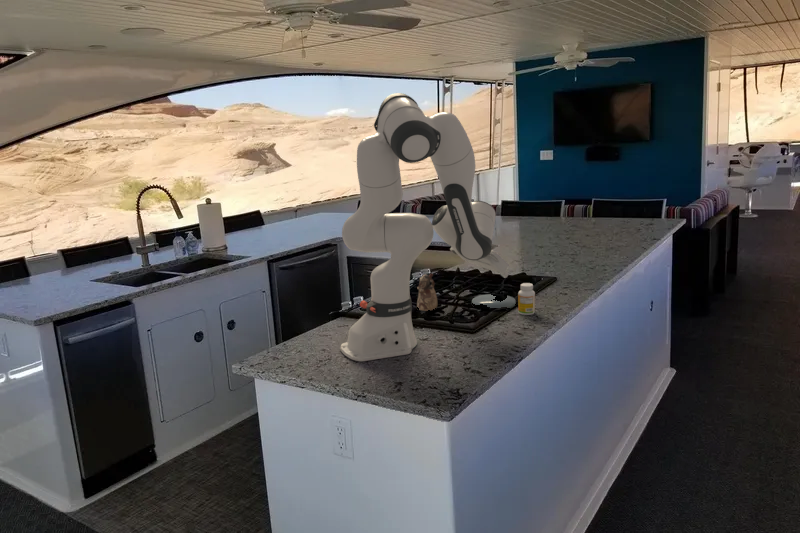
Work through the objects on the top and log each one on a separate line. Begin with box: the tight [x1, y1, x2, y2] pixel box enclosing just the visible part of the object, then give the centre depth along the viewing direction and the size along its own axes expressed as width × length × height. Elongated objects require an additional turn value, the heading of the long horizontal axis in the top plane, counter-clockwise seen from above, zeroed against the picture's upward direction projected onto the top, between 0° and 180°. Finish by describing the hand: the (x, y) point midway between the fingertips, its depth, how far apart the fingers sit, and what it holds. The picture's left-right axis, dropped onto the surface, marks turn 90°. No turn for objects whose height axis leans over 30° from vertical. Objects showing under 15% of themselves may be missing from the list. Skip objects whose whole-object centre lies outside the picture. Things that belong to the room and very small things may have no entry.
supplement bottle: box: [517, 282, 536, 316], centre depth 203 cm, size 5×5×10 cm
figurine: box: [416, 273, 438, 312], centre depth 213 cm, size 7×7×12 cm
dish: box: [471, 293, 517, 309], centre depth 215 cm, size 15×15×1 cm
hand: (496, 272), depth 195 cm, fingers open, 8 cm apart
